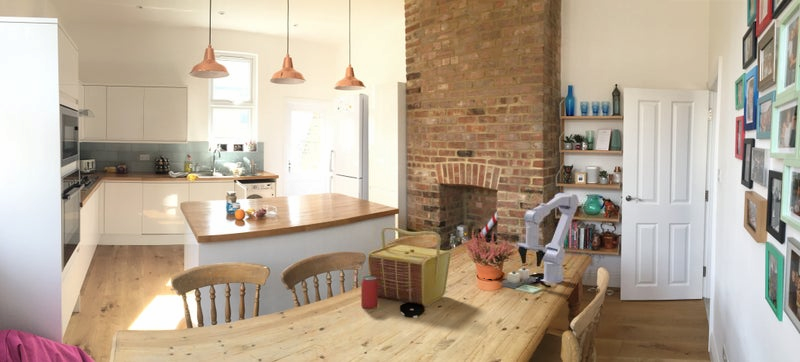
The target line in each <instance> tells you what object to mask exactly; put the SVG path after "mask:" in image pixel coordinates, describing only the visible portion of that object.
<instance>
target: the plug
mask: <svg viewBox="0 0 800 362" xmlns="http://www.w3.org/2000/svg"><path fill="white" fill-rule="evenodd" d="M507 279H508V282H510V283H515V284H516V283H519V282H520V273H518V272H516V271H515V270H514V271H513V270H512V271H511V272H507Z"/></svg>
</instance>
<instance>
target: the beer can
mask: <svg viewBox="0 0 800 362" xmlns="http://www.w3.org/2000/svg"><path fill="white" fill-rule="evenodd" d="M360 290H361V297H360V298H361V300H360V302H361V307H362V308H364V309H367V310H371V309H375V308H377V307H378V296H377V295H378V283H377V280H376V277H373V276H370V275H367V276H364V277H362V280H361V289H360Z"/></svg>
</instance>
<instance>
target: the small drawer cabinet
mask: <svg viewBox="0 0 800 362" xmlns="http://www.w3.org/2000/svg"><path fill="white" fill-rule="evenodd" d="M501 281H502V286H501V287H505V288H509V289H514V290H516V288H518V287H520V286H523V285H531V284H534V283H536V281H537V278H536V277H534V276H530V275H529V279H527V280H524V279H522V278H520V282H519V283H516V284H515V283H510V282H508V278H507V279H504V280H501Z"/></svg>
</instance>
